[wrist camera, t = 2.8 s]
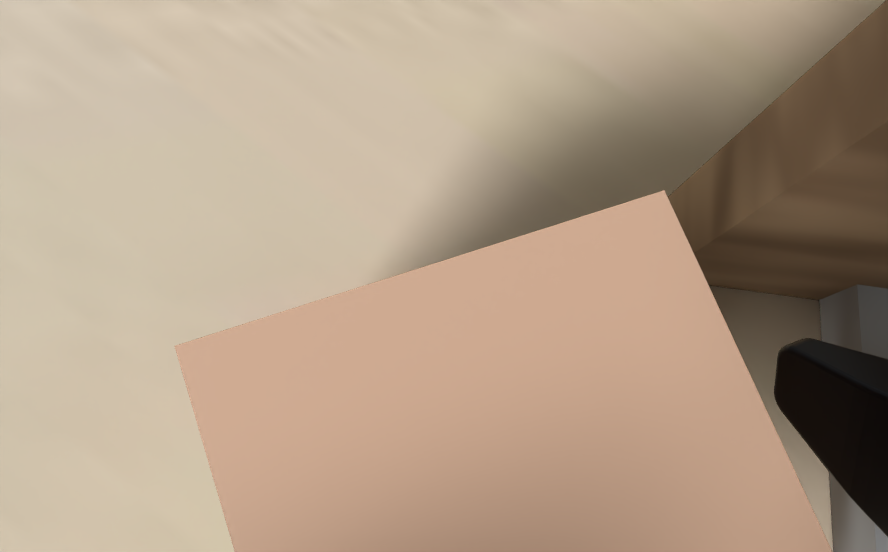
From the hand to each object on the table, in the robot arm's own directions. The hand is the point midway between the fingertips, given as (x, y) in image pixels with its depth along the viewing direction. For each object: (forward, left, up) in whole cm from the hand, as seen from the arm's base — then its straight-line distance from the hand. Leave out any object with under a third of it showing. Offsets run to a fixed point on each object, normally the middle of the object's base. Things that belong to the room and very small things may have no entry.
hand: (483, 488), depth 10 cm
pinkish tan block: (0, 0, -8) cm, 8 cm away
